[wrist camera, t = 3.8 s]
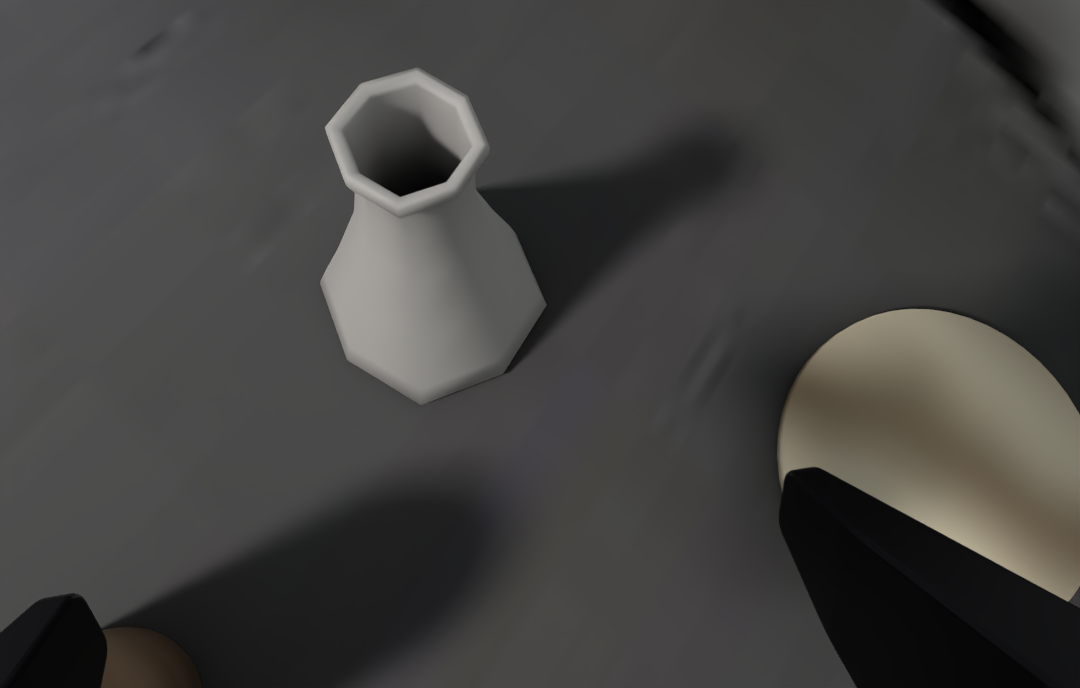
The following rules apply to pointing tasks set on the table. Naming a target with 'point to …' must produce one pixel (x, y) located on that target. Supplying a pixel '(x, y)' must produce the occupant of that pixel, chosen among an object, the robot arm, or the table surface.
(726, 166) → the table surface
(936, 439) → the coaster
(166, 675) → the pepper shaker
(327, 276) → the flask
